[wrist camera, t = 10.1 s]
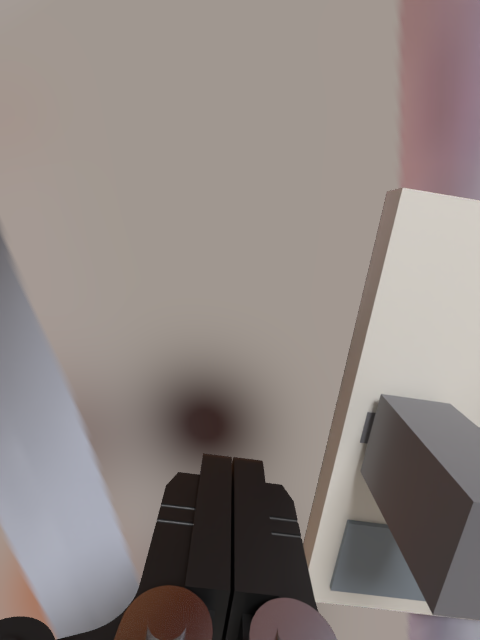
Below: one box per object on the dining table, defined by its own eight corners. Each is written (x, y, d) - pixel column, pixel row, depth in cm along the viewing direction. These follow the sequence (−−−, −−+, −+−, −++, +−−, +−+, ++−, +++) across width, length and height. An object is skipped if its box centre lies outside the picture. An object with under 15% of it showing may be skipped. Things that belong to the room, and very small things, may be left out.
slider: (381, 394, 12) (473, 501, 8) (449, 403, 12) (585, 516, 8) (360, 471, 13) (432, 614, 8) (425, 479, 13) (535, 626, 8)
